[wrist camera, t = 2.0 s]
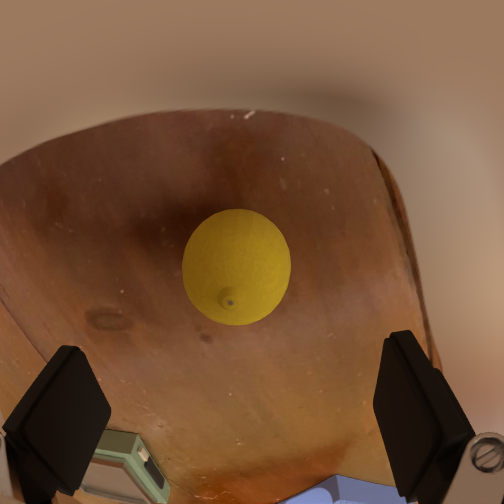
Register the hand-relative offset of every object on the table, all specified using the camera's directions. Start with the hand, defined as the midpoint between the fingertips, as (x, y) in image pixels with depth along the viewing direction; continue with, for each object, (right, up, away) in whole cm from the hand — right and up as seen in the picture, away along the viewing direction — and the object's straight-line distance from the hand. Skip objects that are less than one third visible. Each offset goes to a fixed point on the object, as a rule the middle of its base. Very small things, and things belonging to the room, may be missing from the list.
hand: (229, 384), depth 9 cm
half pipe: (+13, -34, +27) cm, 45 cm away
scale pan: (-17, -23, +20) cm, 35 cm away
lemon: (0, +5, +12) cm, 13 cm away
